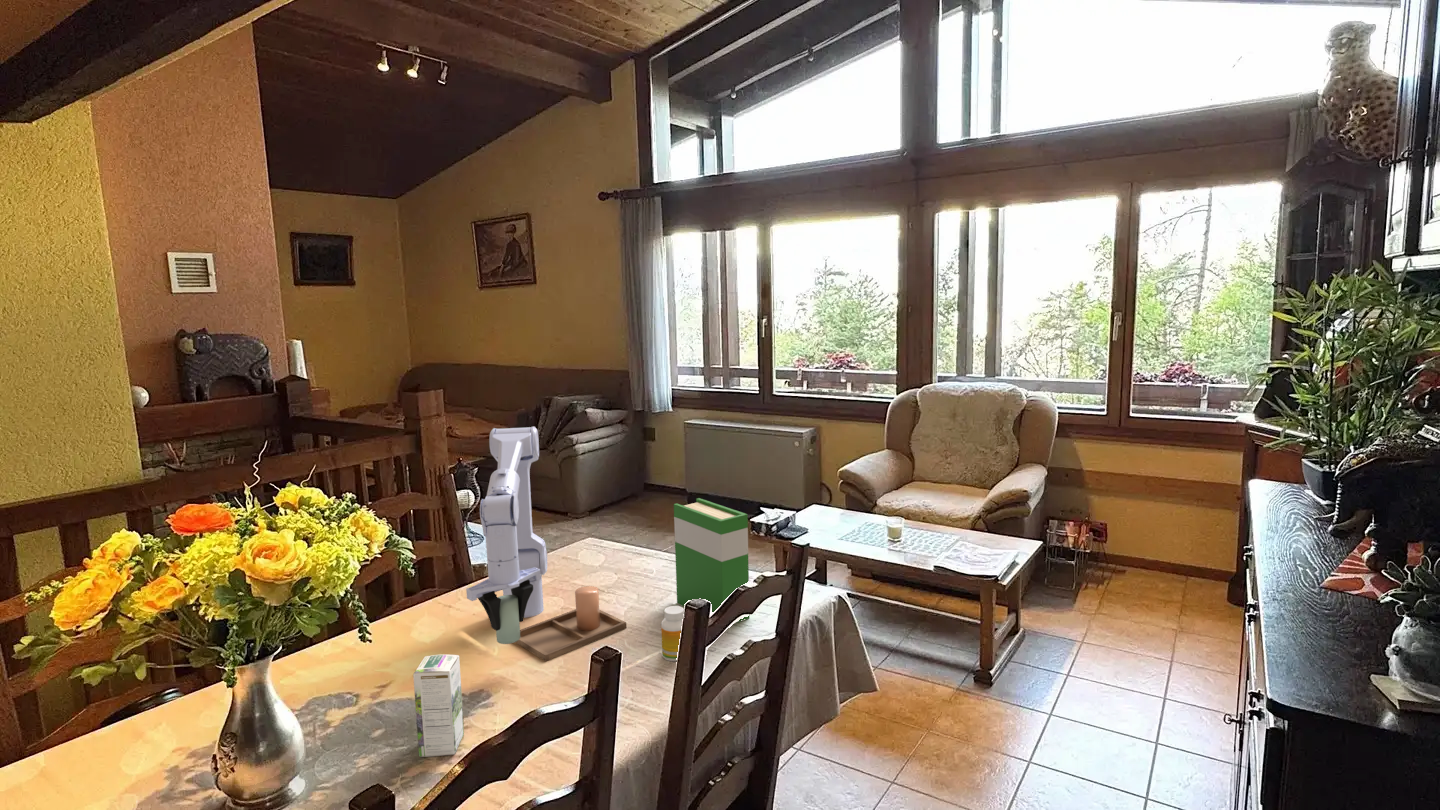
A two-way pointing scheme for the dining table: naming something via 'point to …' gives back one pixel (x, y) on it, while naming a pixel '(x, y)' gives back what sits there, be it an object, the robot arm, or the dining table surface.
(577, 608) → the peach cylinder pillar
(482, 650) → the dining table surface
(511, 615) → the sage tube
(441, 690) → the syrup box
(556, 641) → the walnut tray
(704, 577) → the hardback book
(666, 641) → the supplement bottle
